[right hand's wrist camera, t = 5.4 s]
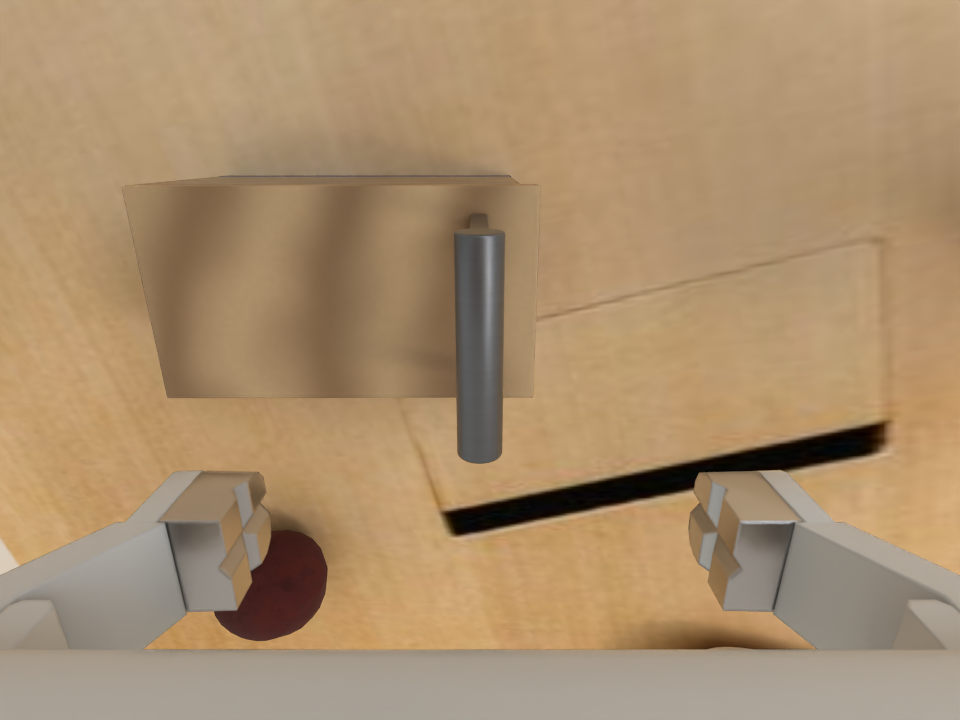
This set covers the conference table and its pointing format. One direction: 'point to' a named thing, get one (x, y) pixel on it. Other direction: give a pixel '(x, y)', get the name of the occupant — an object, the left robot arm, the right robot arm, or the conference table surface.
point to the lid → (345, 293)
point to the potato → (280, 590)
